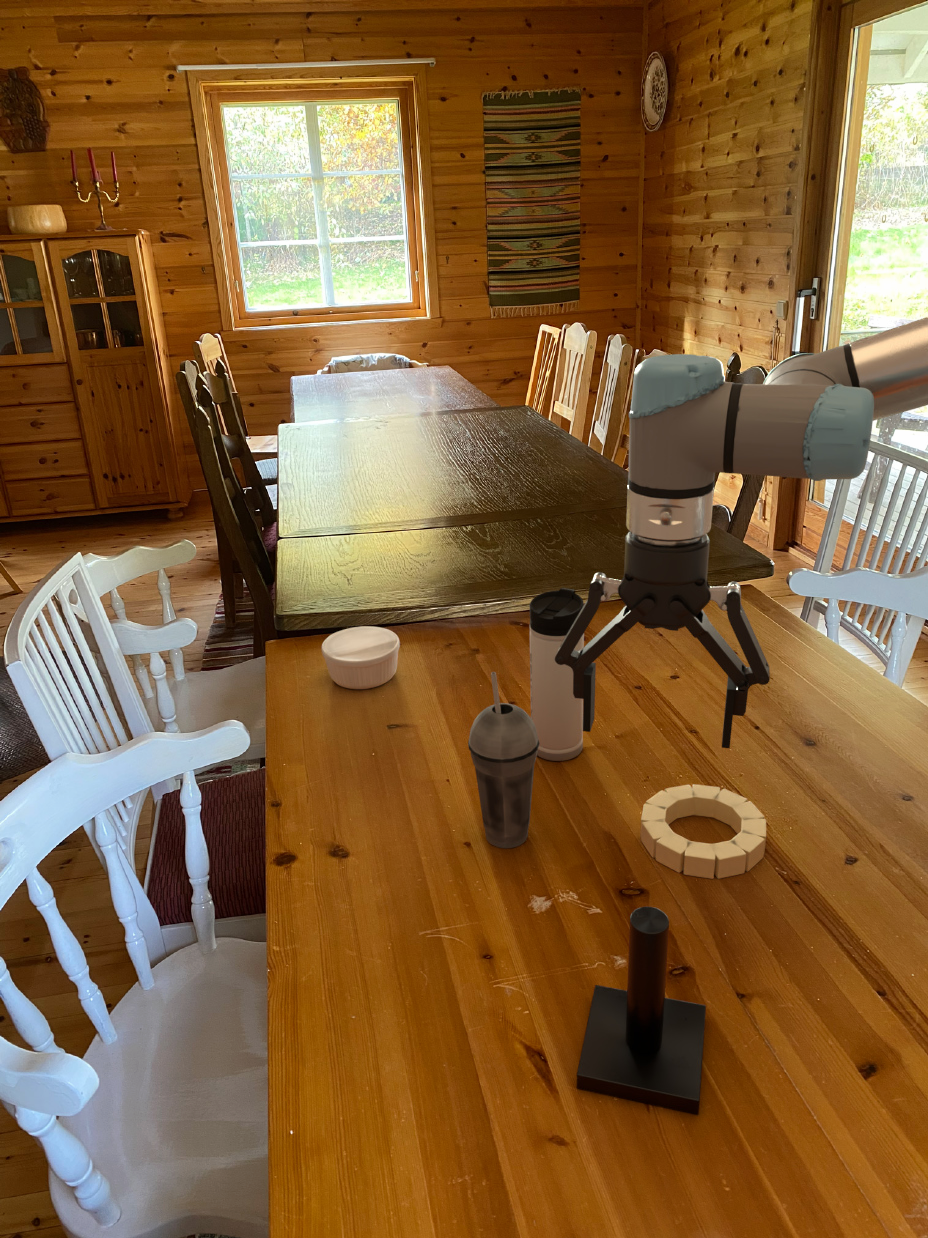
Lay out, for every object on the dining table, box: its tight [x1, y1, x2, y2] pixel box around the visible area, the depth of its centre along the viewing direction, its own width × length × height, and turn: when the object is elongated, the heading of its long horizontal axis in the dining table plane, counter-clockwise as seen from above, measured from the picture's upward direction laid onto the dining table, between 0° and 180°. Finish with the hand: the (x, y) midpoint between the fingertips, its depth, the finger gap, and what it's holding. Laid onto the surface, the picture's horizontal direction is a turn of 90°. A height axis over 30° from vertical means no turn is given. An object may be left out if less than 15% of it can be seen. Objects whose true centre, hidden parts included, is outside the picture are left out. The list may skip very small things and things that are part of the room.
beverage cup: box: [467, 671, 540, 849], centre depth 93 cm, size 7×7×20 cm
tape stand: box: [576, 906, 707, 1115], centre depth 69 cm, size 9×9×14 cm
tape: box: [640, 783, 767, 880], centre depth 95 cm, size 12×12×2 cm
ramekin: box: [321, 625, 401, 690], centre depth 131 cm, size 11×11×5 cm
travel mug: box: [529, 587, 585, 762], centre depth 108 cm, size 6×7×20 cm
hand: (655, 733), depth 92 cm, fingers open, 13 cm apart
